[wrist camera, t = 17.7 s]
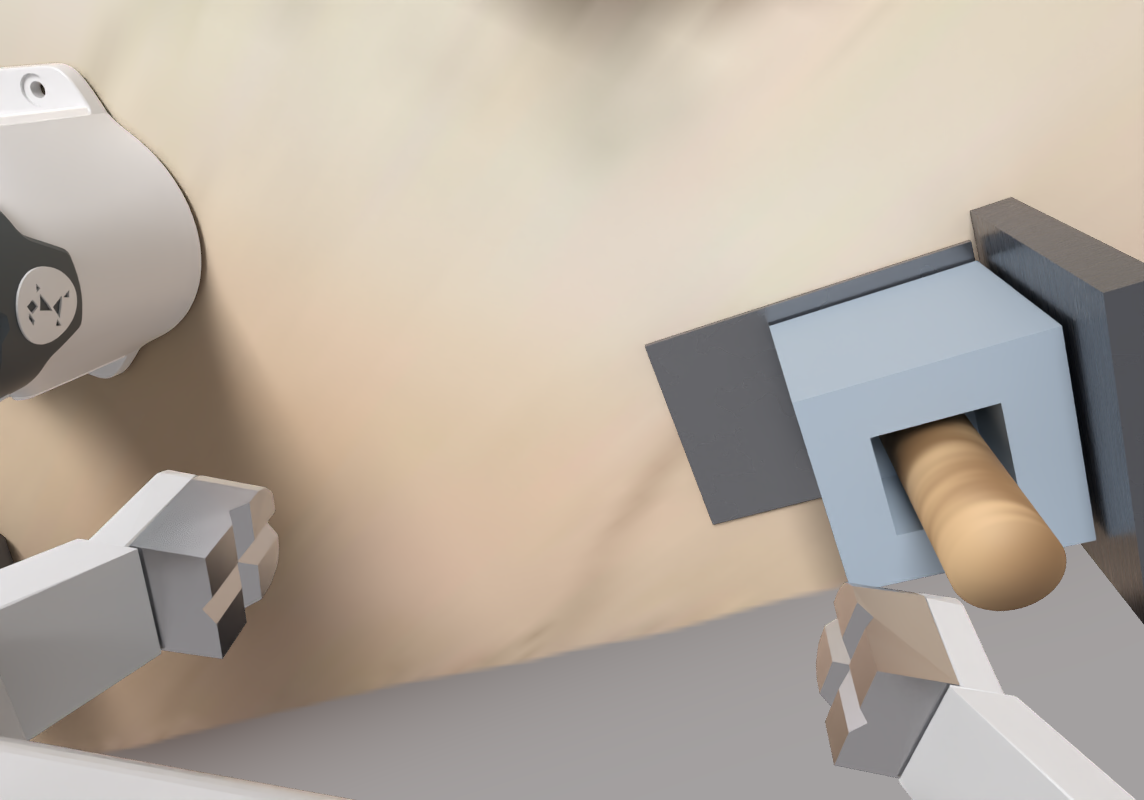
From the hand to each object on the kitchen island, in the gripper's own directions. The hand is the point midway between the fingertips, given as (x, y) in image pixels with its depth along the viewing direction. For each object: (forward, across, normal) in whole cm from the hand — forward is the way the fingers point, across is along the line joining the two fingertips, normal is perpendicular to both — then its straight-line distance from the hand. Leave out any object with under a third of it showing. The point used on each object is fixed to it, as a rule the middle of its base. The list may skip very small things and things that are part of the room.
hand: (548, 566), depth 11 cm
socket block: (+32, -16, +12) cm, 38 cm away
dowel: (+27, -16, +11) cm, 33 cm away
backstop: (+32, -14, +13) cm, 38 cm away
